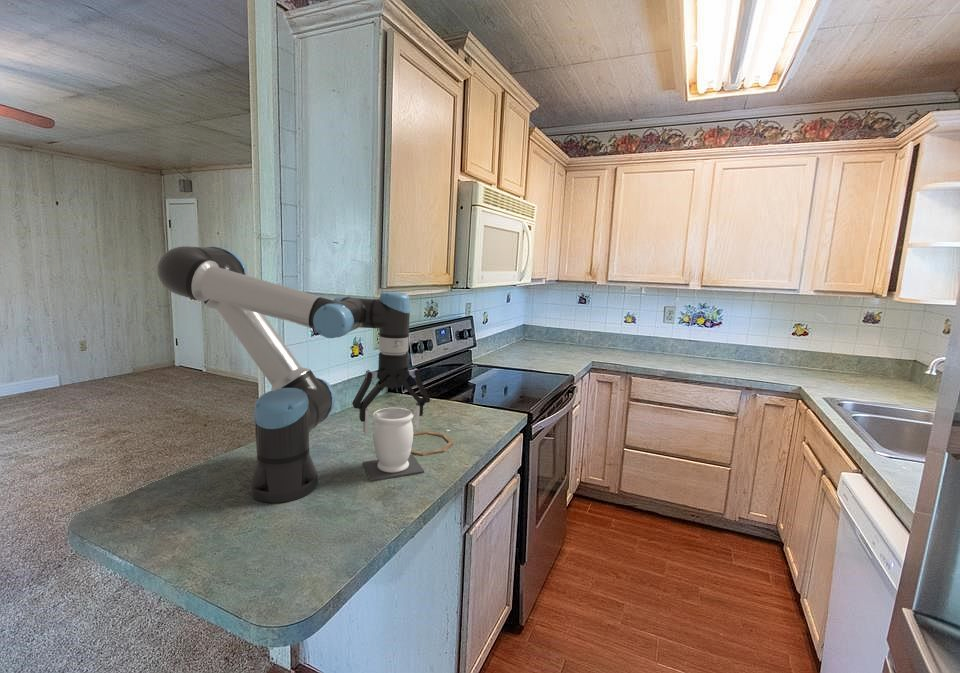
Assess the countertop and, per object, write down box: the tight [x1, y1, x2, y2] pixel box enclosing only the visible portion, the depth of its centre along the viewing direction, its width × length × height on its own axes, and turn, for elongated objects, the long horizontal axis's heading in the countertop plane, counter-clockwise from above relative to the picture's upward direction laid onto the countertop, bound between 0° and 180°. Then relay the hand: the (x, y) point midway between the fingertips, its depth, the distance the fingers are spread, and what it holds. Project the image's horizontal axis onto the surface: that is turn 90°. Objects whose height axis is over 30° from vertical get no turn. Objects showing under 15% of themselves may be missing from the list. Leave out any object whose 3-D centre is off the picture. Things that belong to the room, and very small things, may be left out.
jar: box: [372, 407, 414, 473], centre depth 122 cm, size 11×10×15 cm
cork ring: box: [410, 430, 454, 456], centre depth 140 cm, size 16×16×1 cm
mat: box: [362, 453, 425, 482], centre depth 123 cm, size 14×11×1 cm
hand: (391, 430), depth 121 cm, fingers open, 13 cm apart
